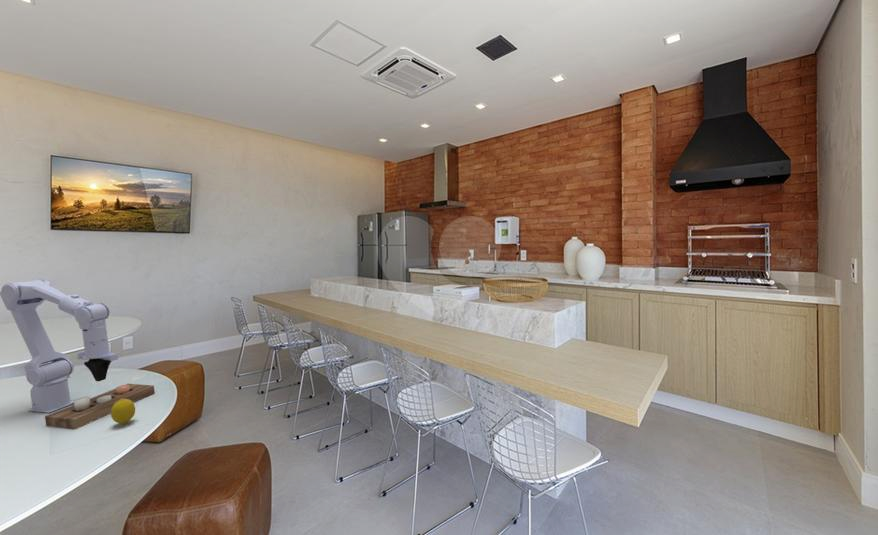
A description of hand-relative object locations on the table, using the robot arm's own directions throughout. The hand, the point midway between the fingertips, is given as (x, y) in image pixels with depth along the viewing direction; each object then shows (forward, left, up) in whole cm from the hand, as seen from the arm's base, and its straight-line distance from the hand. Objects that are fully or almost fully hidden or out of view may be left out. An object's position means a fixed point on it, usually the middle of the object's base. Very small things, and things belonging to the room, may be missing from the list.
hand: (100, 380), depth 118 cm
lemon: (+18, -7, -10) cm, 22 cm away
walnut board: (0, 0, -10) cm, 10 cm away
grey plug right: (0, -6, -7) cm, 9 cm away
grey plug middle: (0, 0, -9) cm, 9 cm away
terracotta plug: (0, +6, -8) cm, 10 cm away
